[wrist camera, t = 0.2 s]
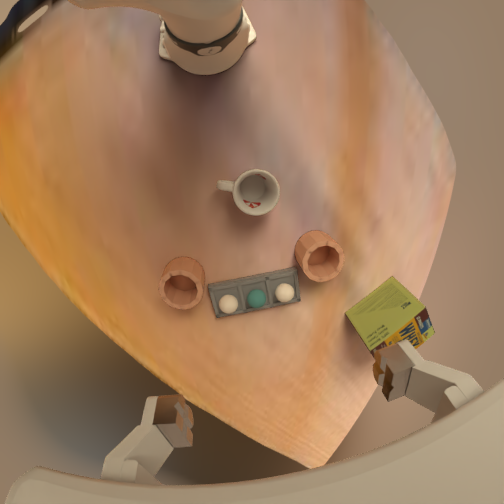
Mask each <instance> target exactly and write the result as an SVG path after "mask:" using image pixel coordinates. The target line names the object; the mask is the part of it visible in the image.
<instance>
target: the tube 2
mask: <svg viewBox="0 0 504 504" xmlns="http://www.w3.org/2000/svg"><path fill="white" fill-rule="evenodd" d="M295 257H296V260H297V262H298V263H299V265H300V267H301V268H302V270H303V272H304V273H305V274H306V275H307V276H308V278H309V279H310V280H314V281H317V282H323V281H328V280H331V279H332V278H334V277H335V276H336V275H337V274H339V273H340V271H341V269H342V266H343V264H344V252H343V250H342V249H341V247H340V246H339V245H338V243H337V242H335V241H334V240H333V239H332V238H331V237H330V236H329V235H328V234H326V233H324V232H322V231H317V230H315V231H310V232H307V233H305V234H304V235H302V236H301V237H300V239H299V240H298V241H297V243H296V246H295Z"/></svg>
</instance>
